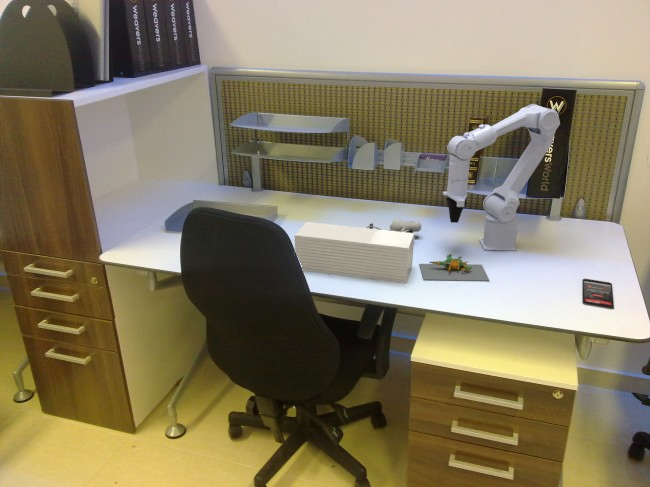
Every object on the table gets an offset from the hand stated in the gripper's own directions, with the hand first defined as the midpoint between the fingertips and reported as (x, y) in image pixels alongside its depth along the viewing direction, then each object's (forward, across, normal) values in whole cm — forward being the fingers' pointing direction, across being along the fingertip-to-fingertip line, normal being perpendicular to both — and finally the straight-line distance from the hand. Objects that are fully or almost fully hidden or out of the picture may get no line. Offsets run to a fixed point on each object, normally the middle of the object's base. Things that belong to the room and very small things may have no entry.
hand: (454, 221), depth 172 cm
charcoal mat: (+9, +16, -2) cm, 18 cm away
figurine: (+8, +9, -2) cm, 12 cm away
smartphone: (+10, +27, +34) cm, 44 cm away
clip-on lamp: (+10, -10, -18) cm, 23 cm away
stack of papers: (+10, +13, -30) cm, 34 cm away
